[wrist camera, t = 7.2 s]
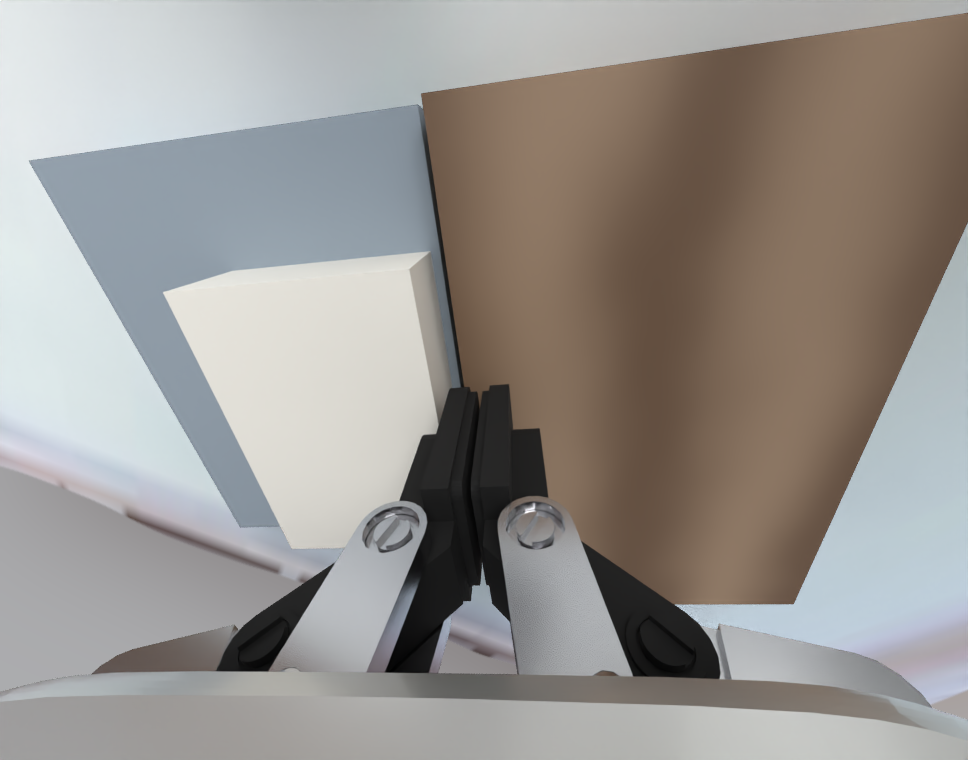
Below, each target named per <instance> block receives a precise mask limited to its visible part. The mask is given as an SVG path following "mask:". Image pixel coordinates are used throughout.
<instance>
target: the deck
mask: <svg viewBox="0 0 968 760" xmlns="http://www.w3.org/2000/svg"><path fill="white" fill-rule="evenodd" d="M421 97H422V104H423V110H424V117H425V124H426V131H427V138H428V144H429V151H430V158H431V165H432V172H433V178H434V185H435V192H436V199H437V205H438V212H439V219H440V226H441V233H442V239H443V246H444V253H445V260H446V267H447V273H448V280H449V287H450V294H451V301H452V307H453V314H454V321H455V328H456V334H457V341H458V348H459V355H460V362H461V368H462V375H463V382H464V387H470V390H471V392H475V391H477V393H478V399H479V406H480V405H481V398H482V391H489V387H490V385H503V384H509V388H510V399H511V410H512V421H513V430H515V429H533V428H540V434H541V442H542V450H543V458H544V466H545V473H546V481H547V489H548V497H549V498H550V499H552V500H554V501H556V502H559V503H560V504H561V505H562V506H563V507H565V508H566V509H567V511H568V512H569V514H570V515H571V517H572V519H573V522H574V524H575V527H576V530H577V532H578V535H579V537H580V540H581V541H582V542H584V543H585V544H587V545H588V546H590V547H591V548H592V549H594V550H595V551H597V552H598V553H600V554H601V555H603V556H604V557H606V558H607V559H608V560H610V561H611V562H613V563H614V564H616V565H617V566H619V567H620V568H622V569H623V570H624V571H626V572H627V573H629V574H630V575H632V576H633V577H635V578H636V579H637V580H639V581H640V582H642V583H643V584H645V585H646V586H648V587H649V588H651V589H652V590H653V591H655V592H656V593H658V594H659V595H661V596H662V597H664V598H665V599H667V600H668V601H669V602H671V603H672V604H794V602H795V600H796V598H797V595H798V593H799V591H800V589H801V587H802V584H803V582H804V580H805V578H806V576H807V574H808V571H809V569H810V567H811V565H812V563H813V560H814V558H815V556H816V554H817V552H818V549H819V547H820V545H821V543H822V541H823V538H824V536H825V534H826V532H827V530H828V527H829V525H830V523H831V521H832V519H833V517H834V514H835V512H836V510H837V508H838V506H839V503H840V501H841V499H842V497H843V495H844V492H845V490H846V488H847V486H848V484H849V481H850V479H851V477H852V475H853V473H854V470H855V468H856V466H857V464H858V462H859V460H860V457H861V455H862V453H863V451H864V449H865V446H866V444H867V442H868V440H869V438H870V435H871V433H872V431H873V429H874V427H875V424H876V422H877V420H878V418H879V416H880V414H881V411H882V409H883V407H884V405H885V403H886V400H887V398H888V396H889V394H890V392H891V389H892V387H893V385H894V383H895V381H896V378H897V376H898V374H899V372H900V370H901V367H902V365H903V363H904V361H905V359H906V357H907V354H908V352H909V350H910V348H911V346H912V343H913V341H914V339H915V337H916V335H917V332H918V330H919V328H920V326H921V324H922V321H923V319H924V317H925V315H926V313H927V311H928V308H929V306H930V304H931V302H932V300H933V297H934V295H935V293H936V291H937V289H938V286H939V284H940V282H941V280H942V278H943V275H944V273H945V271H946V269H947V267H948V264H949V262H950V260H951V258H952V256H953V254H954V251H955V249H956V247H957V245H958V243H959V240H960V238H961V236H962V234H963V232H964V229H965V227H966V225H967V223H968V13H964V14H957V15H950V16H944V17H937V18H930V19H923V20H917V21H910V22H903V23H896V24H889V25H883V26H876V27H869V28H862V29H856V30H849V31H842V32H835V33H828V34H822V35H815V36H808V37H801V38H794V39H788V40H781V41H774V42H767V43H761V44H754V45H747V46H740V47H733V48H727V49H720V50H713V51H706V52H700V53H693V54H686V55H679V56H672V57H666V58H659V59H652V60H645V61H638V62H632V63H625V64H618V65H611V66H605V67H598V68H591V69H584V70H577V71H571V72H564V73H557V74H550V75H544V76H537V77H530V78H523V79H516V80H510V81H503V82H496V83H489V84H482V85H476V86H469V87H462V88H455V89H449V90H442V91H435V92H428V93H421Z"/></svg>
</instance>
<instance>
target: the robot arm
mask: <svg viewBox="0 0 968 760" xmlns="http://www.w3.org/2000/svg"><path fill="white" fill-rule="evenodd" d="M482 563H483V569H484V574H485V580H486V585H489V587H490V593H491V599H492V604H493V605H494V606H495V607H496V608H497V609H498V610H499V611H500V612H501V613H502V614H503V615H504V616H505V617H506V618H507V619H508V620H509V621H510V626H511V633H512V640H513V647H514V654H515V660H516V667H517V674H518V675H516V674H514V675H512V674H442V673H441V674H440V673H438V671H439V668H440V664H441V661H442V657H443V654H444V650H445V646H446V643H447V639H448V635H449V632H450V627H451V620H452V618H451V614H452V613H453V612H454V611H456V610H457V609H458V608H459V607H460V606H461V605H462V604H463V601H471V594H472V585H480V582H481V569H482ZM0 760H968V720H967V719H964V718H961V717H958V716H955V715H952V714H949V713H946V712H942V711H939V710H936V709H933V708H932V707H931V705H930V704H929V703H928V702H927V700H926V699H925V698H924V696H923V695H922V694H921V693H920V692H919V691H918V690H916V689H915V688H914V687H913V686H912V685H911V684H910V683H909V682H907V681H906V680H905V679H904V678H903V677H902V676H901V675H899V674H898V673H896V672H894V671H893V670H891V669H889V668H888V667H886V666H884V665H883V664H881V663H879V662H878V661H876V660H873V659H870V658H867V657H864V656H862V655H859V654H856V653H852V652H847V651H843V650H838V649H834V648H829V647H824V646H820V645H815V644H811V643H806V642H801V641H797V640H792V639H788V638H783V637H778V636H774V635H769V634H765V633H760V632H755V631H751V630H746V629H742V628H737V627H732V626H728V625H723V624H719V626H718V629H712V628H708V627H703V626H700V624H698V623H697V622H696V621H695V620H694V619H693V618H691V617H690V616H689V615H688V614H687V613H685V612H684V611H683V610H681V609H680V608H678V607H677V606H675V605H674V604H672V603H671V602H669V601H668V600H667V599H665V598H664V597H662V596H661V595H659V594H658V593H656V592H655V591H653V590H652V589H651V588H649V587H648V586H646V585H645V584H643V583H642V582H640V581H639V580H637V579H636V578H635V577H633V576H632V575H630V574H629V573H627V572H626V571H624V570H623V569H622V568H620V567H619V566H617V565H616V564H614V563H613V562H611V561H610V560H608V559H607V558H606V557H604V556H603V555H601V554H600V553H598V552H597V551H595V550H594V549H592V548H591V547H590V546H588V545H587V544H585V543H584V542H582V541H581V540H580V537H579V535H578V532H577V530H576V527H575V524H574V522H573V519H572V517H571V515H570V514H569V512H568V511H567V509H566V508H565V507H563V506H562V505H561V504H560V503H559V502H556V501H554V500H552V499H550V498H549V497H548V489H547V481H546V473H545V466H544V458H543V450H542V442H541V434H540V428H533V429H515V430H513V421H512V410H511V399H510V388H509V384H503V385H490V387H489V391H482V398H481V405H480V406H479V399H478V393H477V391H475V392H471V390H470V387H460V388H450V389H449V392H448V395H447V399H446V402H445V405H444V409H443V412H442V416H441V419H440V422H439V426H438V429H437V432H436V434H426V435H423V436H422V438H421V440H420V443H419V445H418V448H417V451H416V454H415V457H414V460H413V463H412V465H411V468H410V471H409V474H408V477H407V480H406V483H405V485H404V488H403V491H402V494H401V497H400V500H399V501H395V502H391V503H387V504H384V505H382V506H380V507H378V508H376V509H374V510H373V511H372V512H370V513H369V514H368V515H367V516H366V517H365V518H364V519H363V520H362V521H361V523H360V524H359V525H358V527H357V529H356V530H355V532H354V533H353V535H352V537H351V538H350V540H349V541H348V543H347V545H346V546H345V548H344V550H343V551H342V553H341V554H340V556H339V558H338V559H337V561H336V562H335V563H334V564H332V565H331V566H329V567H328V568H326V569H325V570H323V571H322V572H320V573H319V574H317V575H316V576H314V577H313V578H311V579H310V580H308V581H307V582H305V583H304V584H302V585H301V586H299V587H298V588H296V589H295V590H293V591H292V592H290V593H289V594H288V595H286V596H284V597H283V598H281V599H280V600H279V601H277V602H276V603H274V604H273V605H271V606H270V607H268V608H267V609H265V610H264V611H262V612H261V613H259V614H258V615H256V616H255V617H254V618H253V619H251V620H250V621H249V622H248V623H246V624H245V625H244V626H243V627H242V628H241V629H240V630H238V629H237V627H236V626H235V625H231V626H227V627H223V628H219V629H214V630H210V631H206V632H202V633H198V634H194V635H190V636H185V637H182V638H177V639H173V640H169V641H165V642H160V643H156V644H152V645H148V646H144V647H140V648H136V649H132V650H130V651H127V652H125V653H122V654H119V655H117V656H115V657H114V658H112V659H111V660H109V661H108V662H106V663H104V664H103V665H101V666H100V667H99V668H98V669H96V670H95V671H94V672H93V673H92V674H91V675H77V676H69V677H63V678H57V679H51V680H45V681H40V682H36V683H32V684H28V685H24V686H20V687H16V688H12V689H9V690H5V691H1V692H0Z"/></svg>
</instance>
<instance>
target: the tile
mask: <svg viewBox="0 0 968 760" xmlns="http://www.w3.org/2000/svg"><path fill="white" fill-rule="evenodd" d="M163 294H164V296H165V298H166V300H167V302H168V304H169V306H170V308H171V310H172V312H173V314H174V316H175V318H176V320H177V322H178V324H179V326H180V328H181V330H182V332H183V334H184V336H185V338H186V340H187V342H188V344H189V346H190V348H191V350H192V352H193V354H194V356H195V358H196V360H197V361H198V363H199V365H200V367H201V369H202V371H203V373H204V375H205V377H206V379H207V381H208V383H209V385H210V387H211V389H212V391H213V393H214V395H215V397H216V399H217V401H218V403H219V405H220V407H221V409H222V411H223V413H224V415H225V417H226V419H227V421H228V423H229V425H230V427H231V429H232V431H233V433H234V435H235V437H236V439H237V441H238V443H239V445H240V447H241V449H242V451H243V453H244V455H245V457H246V459H247V461H248V463H249V465H250V467H251V469H252V471H253V473H254V475H255V477H256V479H257V481H258V483H259V485H260V487H261V489H262V491H263V493H264V495H265V497H266V499H267V501H268V503H269V505H270V507H271V509H272V511H273V513H274V515H275V517H276V519H277V521H278V523H279V525H280V527H281V529H282V531H283V533H284V535H285V537H286V539H287V541H288V543H289V545H290V547H291V549H318V548H345V546H346V545H347V543H348V541H349V540H350V538H351V537H352V535H353V533H354V532H355V530H356V529H357V527H358V525H359V524H360V523H361V521H362V520H363V519H364V518H365V517H366V516H367V515H368V514H369V513H370V512H372V511H373V510H374V509H376V508H378V507H380V506H382V505H384V504H387V503H391V502H395V501H399V500H400V497H401V494H402V491H403V488H404V485H405V483H406V480H407V477H408V474H409V471H410V468H411V465H412V463H413V460H414V457H415V454H416V451H417V448H418V445H419V443H420V440H421V438H422V436H423V435H426V434H436V432H437V429H438V426H439V422H440V419H441V416H442V412H443V409H444V405H445V402H446V399H447V395H448V392H449V389H450V388H452V381H451V375H450V369H449V363H448V356H447V350H446V344H445V338H444V332H443V325H442V319H441V313H440V307H439V300H438V294H437V288H436V282H435V276H434V269H433V263H432V257H431V251H427V252H417V253H407V254H397V255H387V256H377V257H367V258H357V259H347V260H337V261H327V262H317V263H307V264H296V265H286V266H276V267H266V268H256V269H246V270H236V271H230V272H227V273H224V274H221V275H217V276H214V277H211V278H208V279H204V280H201V281H198V282H195V283H191V284H188V285H185V286H182V287H178V288H175V289H172V290H169V291H165V292H163Z"/></svg>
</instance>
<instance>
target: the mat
mask: <svg viewBox="0 0 968 760" xmlns="http://www.w3.org/2000/svg"><path fill="white" fill-rule="evenodd" d="M29 162H30V164H31V166H32V168H33V169H34V171H35V173H36V174H37V176H38V178H39V180H40V181H41V183H42V185H43V187H44V188H45V190H46V192H47V194H48V195H49V197H50V199H51V200H52V202H53V204H54V206H55V207H56V209H57V211H58V213H59V214H60V216H61V218H62V220H63V221H64V223H65V225H66V226H67V228H68V230H69V232H70V233H71V235H72V237H73V239H74V240H75V242H76V244H77V245H78V247H79V249H80V251H81V252H82V254H83V256H84V258H85V259H86V261H87V263H88V265H89V266H90V268H91V270H92V271H93V273H94V275H95V277H96V278H97V280H98V282H99V284H100V285H101V287H102V289H103V291H104V292H105V294H106V296H107V297H108V299H109V301H110V303H111V304H112V306H113V308H114V310H115V311H116V313H117V315H118V317H119V318H120V320H121V322H122V323H123V325H124V327H125V329H126V330H127V332H128V334H129V336H130V337H131V339H132V341H133V343H134V344H135V346H136V348H137V349H138V351H139V353H140V355H141V356H142V358H143V360H144V362H145V363H146V365H147V367H148V369H149V370H150V372H151V374H152V375H153V377H154V379H155V381H156V382H157V384H158V386H159V388H160V389H161V391H162V393H163V395H164V396H165V398H166V400H167V401H168V403H169V405H170V407H171V408H172V410H173V412H174V414H175V415H176V417H177V419H178V420H179V422H180V424H181V426H182V427H183V429H184V431H185V433H186V434H187V436H188V438H189V440H190V441H191V443H192V445H193V446H194V448H195V450H196V452H197V453H198V455H199V457H200V459H201V460H202V462H203V464H204V466H205V467H206V469H207V471H208V472H209V474H210V476H211V478H212V479H213V481H214V483H215V485H216V486H217V488H218V490H219V492H220V493H221V495H222V497H223V498H224V500H225V502H226V504H227V505H228V507H229V509H230V511H231V512H232V514H233V516H234V518H235V519H236V521H237V523H238V524H239V526H240V527H277V526H280V525H279V523H278V521H277V519H276V517H275V515H274V513H273V511H272V509H271V507H270V505H269V503H268V501H267V499H266V497H265V495H264V493H263V491H262V489H261V487H260V485H259V483H258V481H257V479H256V477H255V475H254V473H253V471H252V469H251V467H250V465H249V463H248V461H247V459H246V457H245V455H244V453H243V451H242V449H241V447H240V445H239V443H238V441H237V439H236V437H235V435H234V433H233V431H232V429H231V427H230V425H229V423H228V421H227V419H226V417H225V415H224V413H223V411H222V409H221V407H220V405H219V403H218V401H217V399H216V397H215V395H214V393H213V391H212V389H211V387H210V385H209V383H208V381H207V379H206V377H205V375H204V373H203V371H202V369H201V367H200V365H199V363H198V361H197V360H196V358H195V356H194V354H193V352H192V350H191V348H190V346H189V344H188V342H187V340H186V338H185V336H184V334H183V332H182V330H181V328H180V326H179V324H178V322H177V320H176V318H175V316H174V314H173V312H172V310H171V308H170V306H169V304H168V302H167V300H166V298H165V296H164V294H163V292H165V291H169V290H172V289H175V288H178V287H182V286H185V285H188V284H191V283H195V282H198V281H201V280H204V279H208V278H211V277H214V276H217V275H221V274H224V273H227V272H230V271H236V270H246V269H256V268H266V267H276V266H286V265H296V264H307V263H317V262H327V261H337V260H347V259H357V258H367V257H377V256H387V255H397V254H407V253H417V252H427V251H431V257H432V263H433V269H434V276H435V282H436V288H437V294H438V300H439V307H440V313H441V319H442V325H443V332H444V338H445V344H446V350H447V356H448V363H449V369H450V375H451V381H452V388H460V387H464V382H463V375H462V368H461V362H460V355H459V348H458V341H457V334H456V328H455V321H454V314H453V307H452V301H451V294H450V287H449V280H448V273H447V267H446V260H445V253H444V246H443V239H442V233H441V226H440V219H439V212H438V205H437V199H436V192H435V185H434V178H433V172H432V165H431V158H430V151H429V144H428V138H427V131H426V124H425V117H424V110H423V109H422V108H421V107H420V106H419V105H411V106H404V107H397V108H391V109H384V110H377V111H370V112H363V113H356V114H349V115H342V116H335V117H328V118H321V119H314V120H307V121H301V122H294V123H287V124H280V125H273V126H266V127H259V128H252V129H245V130H238V131H231V132H224V133H217V134H211V135H204V136H197V137H190V138H183V139H176V140H169V141H162V142H155V143H148V144H141V145H134V146H127V147H121V148H114V149H107V150H100V151H93V152H86V153H79V154H72V155H65V156H58V157H51V158H44V159H37V160H31V161H29Z"/></svg>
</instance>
